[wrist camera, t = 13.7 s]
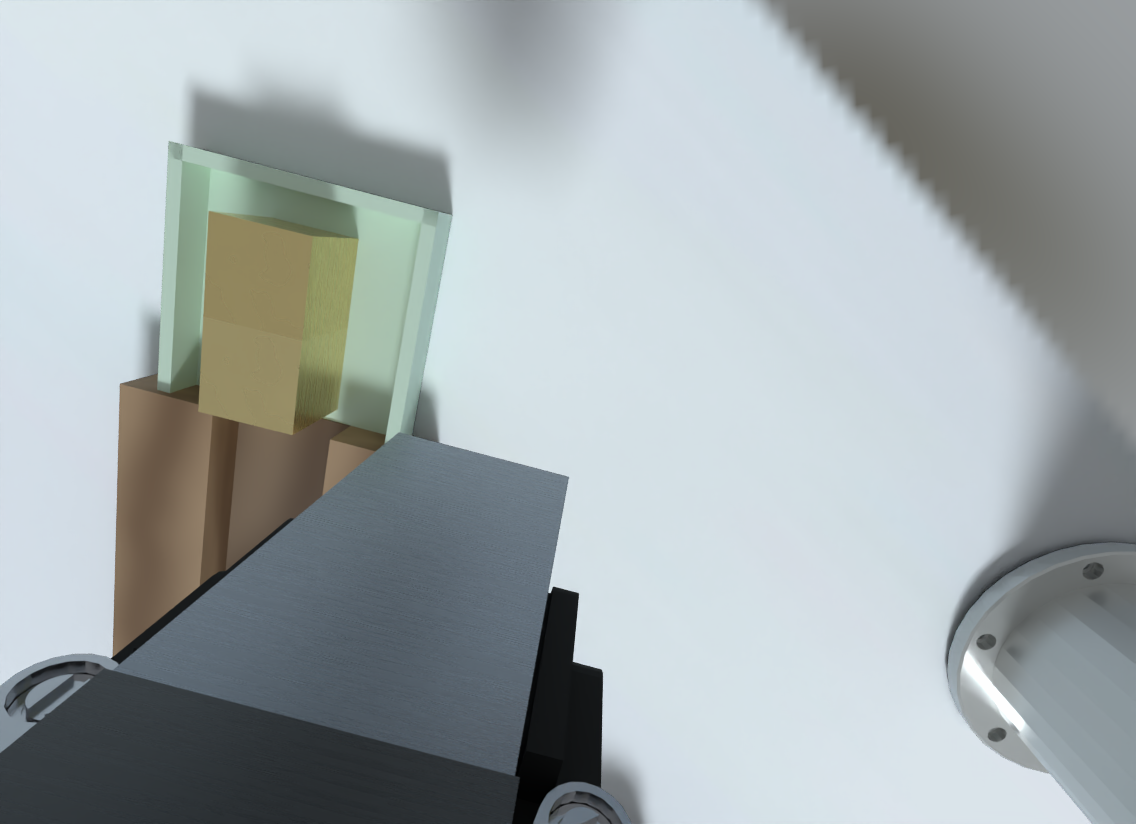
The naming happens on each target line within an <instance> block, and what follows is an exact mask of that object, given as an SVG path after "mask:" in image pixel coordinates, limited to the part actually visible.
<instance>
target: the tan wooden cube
mask: <svg viewBox="0 0 1136 824" xmlns="http://www.w3.org/2000/svg"><path fill="white" fill-rule="evenodd" d="M358 241H359V239H357V238H353V237H349V236H345V235H341V234H337V233H333V232H329V231H325V230H321V229H317V228H313V227H309V226H304V225H300V224H296V223H292V222H288V221H284V220H280V219H276V218H272V217H264V216H254V215H245V214H235V213H225V212H215V211H209V213H208V232H207V252H206V271H205V291H204V310H203V316H204V317H208V318H212V319H216V320H220V321H224V322H228V323H232V324H236V325H240V326H244V327H249V328H253V329H257V330H261V331H265V332H269V333H273V334H277V335H281V336H285V337H289V338H293V339H297V340H301V341H303V340H306V339H310V338H313V337H317V336H321V335H324V334H328V333H331V332H335V331H338V330H342V329H345V328H348V322H349V313H350V305H351V297H352V289H353V281H354V273H355V265H356V257H357V249H358Z"/></svg>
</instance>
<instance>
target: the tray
mask: <svg viewBox="0 0 1136 824" xmlns="http://www.w3.org/2000/svg"><path fill="white" fill-rule="evenodd" d="M209 211H215V212H225V213H235V214H245V215H254V216H264V217H272V218H276V219H280V220H284V221H288V222H292V223H296V224H300V225H304V226H309V227H313V228H317V229H321V230H325V231H329V232H333V233H337V234H341V235H345V236H349V237H353V238H357V239H359V241H358V249H357V257H356V265H355V273H354V281H353V289H352V297H351V305H350V313H349V322H348V330H347V338H346V346H345V354H344V362H343V370H342V378H341V386H340V394H339V402H338V409H337V410H336V411H334V412H332V413H330V414H329V415H327V416H325V417H323V418H324V419H328V420H331V421H335V422H339V423H343V424H346V425H350V426H354V427H358V428H362V429H365V430H369V431H373V432H377V433H381V434H384V435H386V438H385V443H386V442H388V441H389V440H390V439H391V438H392V437H394V436H395V435H396V434H397V433H398V432H400V433H404V434H407V435H411V436H412V433H413V427H414V422H415V417H416V411H417V406H418V400H419V395H420V389H421V384H422V378H423V373H424V367H425V362H426V356H427V351H428V345H429V340H430V334H431V329H432V324H433V318H434V313H435V307H436V302H437V296H438V291H439V285H440V280H441V274H442V269H443V263H444V258H445V252H446V247H447V242H448V236H449V231H450V225H451V220H452V215H450V214H446V213H442V212H438V211H435V210H431V209H427V208H423V207H419V206H416V205H412V204H408V203H404V202H400V201H397V200H393V199H389V198H385V197H381V196H378V195H374V194H370V193H366V192H362V191H359V190H355V189H351V188H347V187H343V186H339V185H336V184H332V183H328V182H324V181H320V180H317V179H313V178H309V177H305V176H301V175H298V174H294V173H290V172H286V171H282V170H279V169H275V168H271V167H267V166H263V165H260V164H256V163H252V162H248V161H244V160H240V159H237V158H233V157H229V156H225V155H221V154H218V153H214V152H210V151H206V150H202V149H198V148H194V147H190V146H186V145H182V144H178V143H174V142H170V141H169V145H168V167H167V188H166V210H165V232H164V253H163V275H162V297H161V318H160V340H159V362H158V383H157V390H160V391H164V392H167V393H172V392H175V391H178V390H182V389H185V388H188V387H191V386H194V385H199V386H200V369H201V350H202V330H203V310H204V291H205V271H206V252H207V232H208V213H209Z"/></svg>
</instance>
